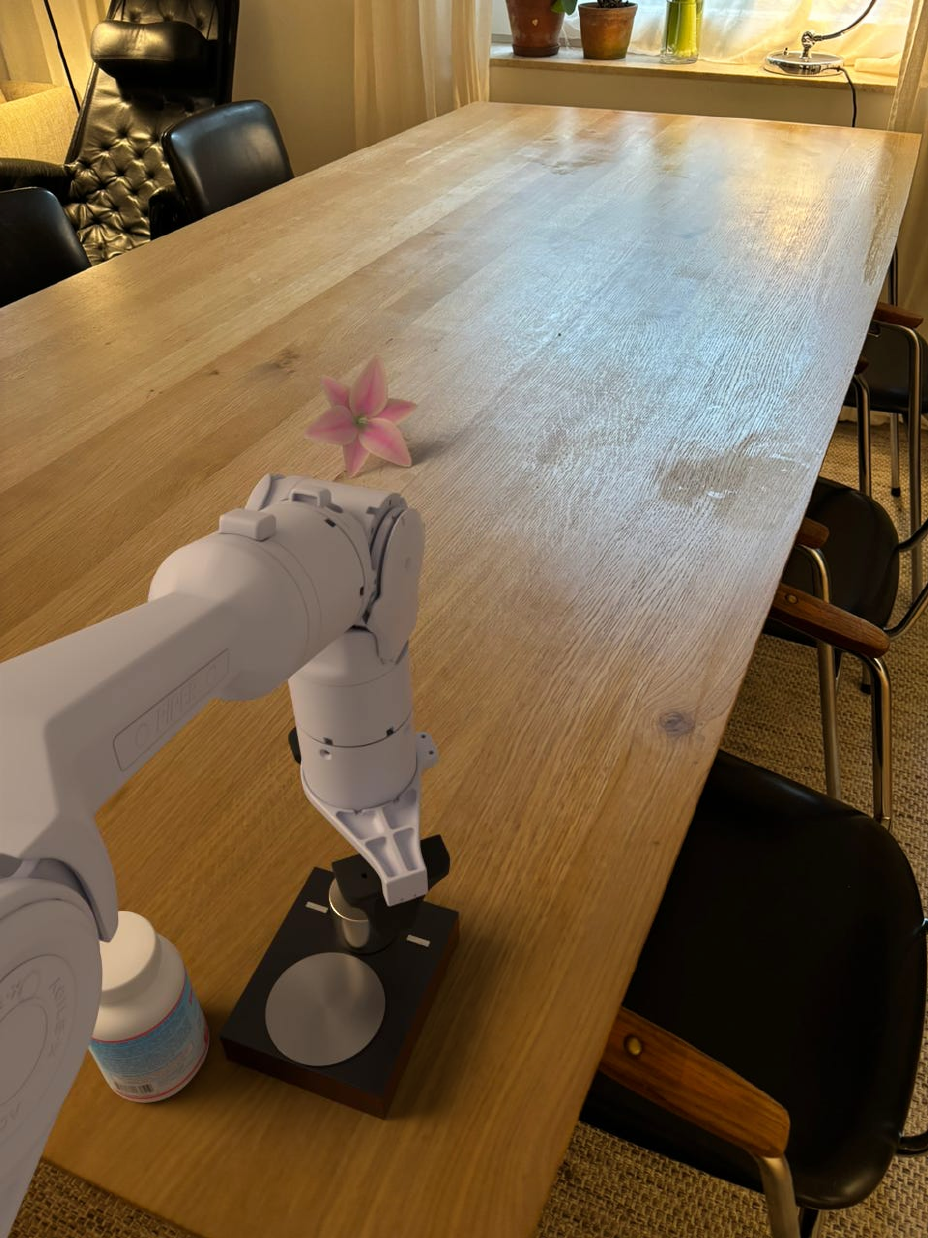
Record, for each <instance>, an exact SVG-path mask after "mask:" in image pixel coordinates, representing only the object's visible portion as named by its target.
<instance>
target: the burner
mask: <svg viewBox="0 0 928 1238" xmlns="http://www.w3.org/2000/svg"><path fill="white" fill-rule="evenodd" d="M384 1012H385V996H384V991H383V987H382V985H381V982H380V980H379V978H378V976H377V975H376V974H375V972H374V971H373V970H372V969H371V968H370V967H369V966H368V965H367V964H365V963H364V962H363V961H361V960H359V959H358V958H355V957H353V956H350V955H347V954H342V953H321V954H316V955H313V956H310V957H307V958H305V959H303V960H300V961H299V962H297V963H295V964H294V965H292V966H291V967H290V968H289V969H287V970H286V971H285V972H284V973H283V974H282V975H281V977H280V978H279V979H278V980H277V982H276V983H275V985H274V986H273V988H272V990H271V992H270V994H269V997H268V1000H267V1005H266V1012H265V1019H266V1026H267V1030H268V1033H269V1036H270V1038H271V1040H272V1042H273V1044H274V1045H275V1047H276V1048H277V1049H278V1050H279V1051H280V1052H281V1053H282V1054H283V1055H284V1056H286V1057H287V1058H289V1059H290V1060H292V1061H294V1062H296V1063H298V1064H302V1065H305V1066H311V1067H327V1066H332V1065H337V1064H340V1063H342V1062H345V1061H347V1060H349V1059H351V1058H353V1057H354V1056H356V1055H357V1054H359V1053H360V1052H361V1051H363V1050H364V1049H365V1048H366V1047H367V1046H368V1045H369V1044H370V1043H371V1041H372V1040H373V1039H374V1037H375V1036H376V1034H377V1032H378V1030H379V1029H380V1026H381V1024H382V1021H383V1017H384Z"/></svg>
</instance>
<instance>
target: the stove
mask: <svg viewBox="0 0 928 1238" xmlns="http://www.w3.org/2000/svg"><path fill="white" fill-rule="evenodd" d="M334 879H335V875H334V872H333V871H331V870H328V869H325V868H322V867H319V866H315V865H314V867H313V868H312V870H311V872H310V873H309V875H308V876H307V879H306V881H305V882H304V884H303V886H302V888H301V889H300V891H299V893H298V894H297V896H296V898H295V900H294V901H293V903H292V905H291V907H290V908H289V910H288V912H287V913H286V915H285V917H284V919H283V921H282V922H281V925H279V928H278V929H277V932H276V933H275V934H274V937H273V938H272V939H271V942H270V944H269V945H268V946H267V949H266V950H265V953H264V955H263V956H262V957H261V960H260V961H259V963H258V964H257V966H256V968H255V970H254V972H253V974H251V977H250V978H249V981H248V982H247V984H246V986H244V987H245V988H244V989H243V991H242V993H241V995H240V996H239V998H238V999H237V1002H236V1003H235V1005H234V1007H233V1008H232V1010H231V1012H230V1014H229V1015H228V1016H227V1019H226V1021H225V1023H224V1024H223V1025H222V1027H221V1029H220V1031H219V1032H218V1034H217V1035H218V1038H219V1042H220V1044H221V1047H222V1049H223V1052H224V1055H225V1058H226V1060H227V1061H229V1062H232V1063H235V1064H237V1065H239V1066H242V1067H245V1068H247V1069H250V1070H253V1071H255V1072H257V1073H261V1074H263V1075H265V1076H267V1077H271V1078H273V1079H276V1080H279V1081H281V1082H283V1083H287V1084H288V1085H291V1086H294V1087H296V1088H299V1089H302V1090H304V1091H307V1092H310V1093H311V1094H315V1095H317V1096H319V1097H322V1098H325V1099H327V1100H330V1101H332V1102H335V1103H338V1104H339V1105H340V1104H341V1105H342V1106H346V1107H348V1108H351V1109H354V1110H356V1111H359V1112H361V1113H364V1114H366V1115H369V1116H372V1117H373V1118H377V1119H379V1120H382V1121H385V1120H386V1118H387V1115H388V1113H389V1110H390V1108H391V1106H392V1103H393V1101H394V1098H395V1096H396V1094H397V1091H398V1089H399V1086H400V1084H401V1082H402V1079H403V1077H404V1074H405V1071H406V1070H407V1067H408V1064H409V1062H410V1060H411V1058H412V1055H413V1053H414V1050H415V1048H416V1045H417V1043H418V1041H419V1038H420V1036H421V1033H422V1031H423V1028H424V1026H425V1024H426V1021H427V1018H428V1017H429V1014H430V1011H431V1008H432V1007H433V1004H434V1002H435V999H436V997H437V994H438V992H439V990H440V987H441V984H442V982H443V980H444V978H445V976H446V973H447V970H448V967H449V966H450V963H451V960H452V958H453V956H454V953H455V951H456V948H457V946H458V944H459V941H460V939H461V938H460V935H461V934H460V933H461V932H460V912H459V911H457V910H455V909H454V910H453V909H451V908H448V907H445V906H441V905H438V904H435V903H432V902H428V901H425V900H423V902H422V904H421V907H420V910H419V912H418V915H417V918H416V920H415V922H414V925H413V926H412V927H410V928H407V929H404V930H402V931H399V932H397V934H396V936H395V938H394V939H393V941H392V942H391V943H390V944H389V945H387V946H386V947H385V948H383V949H381V950H379V951H377V952H373V953H367V954H361V953H356V952H352V951H350V950H348V949H346V948H345V947H344V946H342V945H341V943H340V942H339V941H338V939H337V937H336V935H335V931H334V925H333V920H332V914H331V908H330V903H329V889H330V886H331V884H332V882H333V880H334ZM321 953H342V954H347V955H350V956H353V957H355V958H358V959H359V960H361V961H363V962H364V963H365V964H367V965H368V966H369V967H370V968H371V969H372V970H373V971H374V972H375V974H376V975H377V976H378V978H379V980H380V982H381V985H382V987H383V991H384V996H385V1012H384V1017H383V1021H382V1024H381V1026H380V1029H379V1030H378V1032H377V1034H376V1036H375V1037H374V1039H373V1040H372V1041H371V1043H370V1044H369V1045H368V1046H367V1047H366V1048H365V1049H364V1050H363V1051H361V1052H360V1053H359V1054H357V1055H356V1056H354V1057H353V1058H351V1059H349V1060H347V1061H345V1062H342V1063H340V1064H337V1065H332V1066H327V1067H311V1066H305V1065H302V1064H298V1063H296V1062H294V1061H292V1060H290V1059H289V1058H287V1057H286V1056H284V1055H283V1054H282V1053H281V1052H280V1051H279V1050H278V1049H277V1048H276V1047H275V1045H274V1044H273V1042H272V1040H271V1038H270V1036H269V1033H268V1030H267V1026H266V1019H265V1012H266V1005H267V1000H268V997H269V994H270V992H271V990H272V988H273V986H274V985H275V983H276V982H277V980H278V979H279V978H280V977H281V975H282V974H283V973H284V972H285V971H286V970H287V969H289V968H290V967H291V966H292V965H294V964H295V963H297V962H299V961H300V960H303V959H305V958H307V957H310V956H313V955H316V954H321Z"/></svg>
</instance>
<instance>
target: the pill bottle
mask: <svg viewBox="0 0 928 1238" xmlns="http://www.w3.org/2000/svg"><path fill="white" fill-rule="evenodd" d="M99 943H100V953H101V959H102V972H103V977H102V993H101V1000H100V1006H99V1011H98V1016H97V1020H96V1024H95V1028H94V1032H93V1035H92V1038H91V1041H90V1044H89V1047H88V1051H89V1052H90V1055H91V1056H92V1058H93V1060H94V1061H95V1063H96V1065H97V1067H98V1069H99V1070H100V1072H101V1074H102V1076H103V1078H104V1079H105V1081H106V1082H107V1084H108V1086H109V1087H110V1089H112V1091H113V1092H114V1093H116V1095H118V1096H120V1097H121V1098H123V1099H125V1100H127V1101H131V1102H134V1103H135V1102H136V1103H143V1104H144V1103H153V1102H160V1101H162V1100H165V1099H167V1098H170V1097H172V1096H173V1095H175V1094H177V1093H178V1092H179V1091H181V1090H182V1089H183V1088H185V1087H186V1086H187V1085H188V1084H189V1083H190V1082H191V1081H192V1079H193V1078H194V1077H195V1076H196V1074H197V1073H198V1072H199V1070H200V1069H201V1066H202V1065H203V1063H204V1061H205V1059H206V1057H207V1054H208V1050H209V1048H210V1047H209V1046H210V1030H209V1025H208V1023H207V1019H206V1017H205V1015H204V1012H203V1009H202V1007H201V1004H200V1002H199V999H198V996H197V995H196V991H195V989H194V986H193V984H192V982H191V979H190V976H189V974H188V971H187V968H186V966H185V964H184V960H183V958H182V956H181V954H180V952H179V950H178V949H177V948H176V946H175V945H174V943H172V941H170V940H169V939H168V938H166V937H165V936H164V935H161V934H159V933H158V932H156V930H155V928H154V926H153V924H152V923H151V922H150V921H149V920H148V919H147V918H146V917H145V916H143V915H141V914H139V913H136V912H133V911H127V910H118V927H117V931H116V933H115V935H114V937H113V939H112V940H111V942H109V943H106V942H103V941H100V940H99Z"/></svg>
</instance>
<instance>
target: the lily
mask: <svg viewBox="0 0 928 1238" xmlns="http://www.w3.org/2000/svg"><path fill="white" fill-rule="evenodd" d="M387 377H388V376H387V372H386V368H385V362H384V360H383V357H382V356H381V355H380V354H374V356H373V357H371V358H370V359H369V361H368V362H367V363H366V364H365V366H364V367H363V368H362V370H361V371H360V373H359V374H358V376H357V377H356V378H355V380H354V381H353V383H352V385H351V386H350V385H348V384H347V383H345V382H344V381H341V380H338V379H336V378H334V377H331V376H328V375H325V374H319V375H318V380H319V384H320V386H321V389H322V391H323V393H324V395H325V398H326V401H327V402H328V404H329V406H330V407H329V408H328V409H326V410H325V411H324V412H322V413H321V414H319V415H318V416H317V417H316V418H315V419H313V420H312V421H311V422H310V423H309V424H308V425H307V426H305V428H303V430H302V431H301V433H300V437H301V438H303V439H305V440H307V441H310V442H317V443H321V444H322V443H323V444H328V445H335V446H342V455H343V461H344V465H345V471H346V475H347V477H348V478H349V479H352V478H354V477H355V476H356V474H357V473H358V472H359V471H360V470H361V469H362V467H363V466H364V464H365V463H366V461H367V460H368V458H369V457H370V455H371V454H372V455H374V456H376V457H378V458H380V459H383V460H385V461H388V462H390V463H393V464H394V465H395V464H396V465H397V466H400V467H404V468H411V467H412V464H413V462H412V457H411V455H410V454H411V453H410V451H409V448H408V446H407V444H406V441H405V439H404V437H403V434H402V432H401V431H400V429H399V428H398V425H400V424H401V423H402V422H404V421H405V420H406V419H408V418H409V417H410V416H411V415H412V414H413V413H414V412H415V411H416V410H417V409H418V406H419V405H418V404H417V402H413V401H411V400H405V399H401V398H392V397H389V384H388V378H387Z"/></svg>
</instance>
